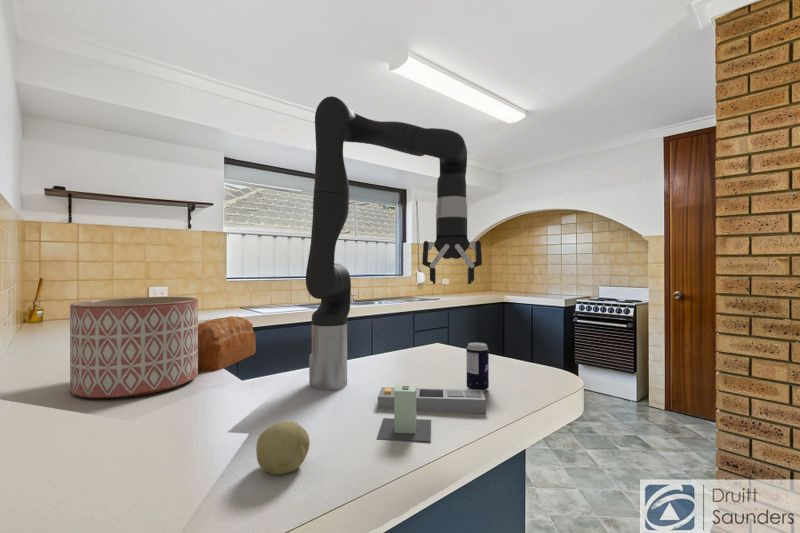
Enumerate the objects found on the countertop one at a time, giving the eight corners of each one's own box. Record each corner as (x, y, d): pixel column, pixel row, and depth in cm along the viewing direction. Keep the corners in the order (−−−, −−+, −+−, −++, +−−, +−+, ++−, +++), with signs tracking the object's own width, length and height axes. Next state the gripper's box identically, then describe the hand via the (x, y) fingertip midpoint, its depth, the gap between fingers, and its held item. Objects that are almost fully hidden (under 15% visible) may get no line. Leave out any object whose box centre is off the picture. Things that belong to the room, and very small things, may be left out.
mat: (376, 441, 72) (376, 439, 72) (383, 420, 82) (383, 418, 82) (430, 443, 71) (430, 441, 71) (431, 421, 81) (431, 419, 81)
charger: (394, 432, 75) (394, 390, 75) (396, 424, 79) (396, 384, 79) (415, 433, 74) (415, 390, 74) (416, 424, 78) (416, 384, 78)
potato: (304, 484, 58) (304, 431, 58) (250, 487, 57) (250, 433, 57) (312, 459, 65) (312, 412, 65) (264, 461, 65) (263, 413, 65)
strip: (377, 410, 88) (377, 394, 88) (381, 399, 95) (381, 384, 95) (485, 413, 86) (485, 397, 86) (482, 402, 93) (482, 387, 93)
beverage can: (488, 394, 99) (488, 346, 99) (466, 392, 100) (466, 345, 100) (488, 387, 104) (488, 342, 104) (466, 385, 105) (466, 341, 105)
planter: (40, 404, 92) (40, 304, 92) (144, 373, 118) (144, 295, 118) (130, 415, 85) (130, 307, 85) (220, 380, 111) (220, 297, 111)
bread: (259, 357, 139) (258, 313, 139) (216, 378, 113) (216, 324, 113) (222, 356, 141) (222, 313, 141) (172, 377, 115) (172, 324, 115)
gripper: (421, 215, 92) (422, 284, 92) (483, 214, 90) (483, 284, 90) (422, 219, 99) (422, 283, 99) (479, 218, 98) (479, 283, 98)
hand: (451, 283), depth 95 cm, fingers open, 8 cm apart
